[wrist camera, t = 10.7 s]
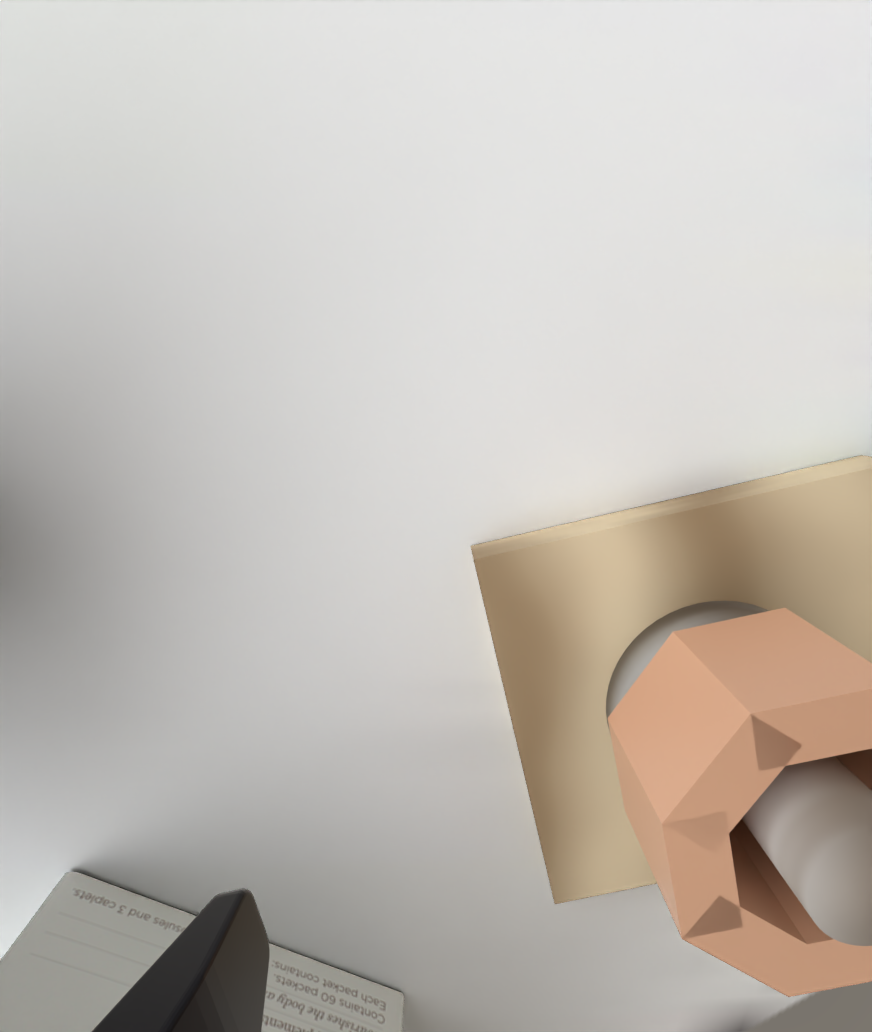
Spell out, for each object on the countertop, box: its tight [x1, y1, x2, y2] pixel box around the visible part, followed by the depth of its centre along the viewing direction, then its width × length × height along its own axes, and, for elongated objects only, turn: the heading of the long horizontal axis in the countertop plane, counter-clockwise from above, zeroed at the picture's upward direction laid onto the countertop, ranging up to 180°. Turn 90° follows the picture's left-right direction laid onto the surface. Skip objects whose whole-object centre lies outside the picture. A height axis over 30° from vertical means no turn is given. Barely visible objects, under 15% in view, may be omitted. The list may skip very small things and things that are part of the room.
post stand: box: [471, 455, 872, 946], centre depth 16 cm, size 12×12×8 cm
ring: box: [608, 608, 872, 997], centre depth 15 cm, size 7×7×4 cm
